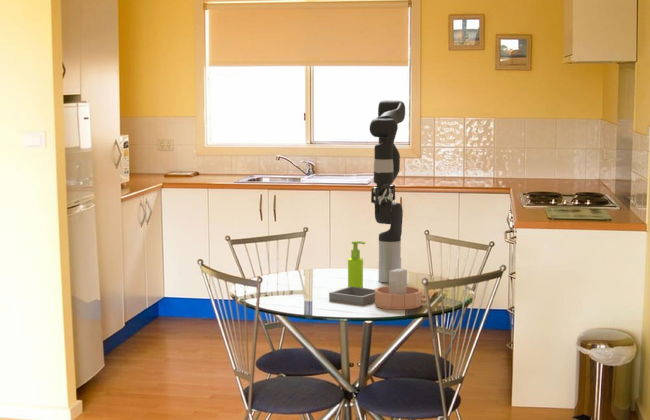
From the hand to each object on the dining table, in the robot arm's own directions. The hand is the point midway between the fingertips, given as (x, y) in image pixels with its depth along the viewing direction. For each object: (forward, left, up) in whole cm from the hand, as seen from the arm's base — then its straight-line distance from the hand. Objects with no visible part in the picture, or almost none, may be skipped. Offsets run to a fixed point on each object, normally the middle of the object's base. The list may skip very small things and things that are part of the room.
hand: (383, 212), depth 362 cm
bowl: (+13, +14, -32) cm, 37 cm away
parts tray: (+13, -4, -32) cm, 35 cm away
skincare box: (+13, +14, -31) cm, 37 cm away
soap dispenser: (0, -12, -32) cm, 34 cm away
